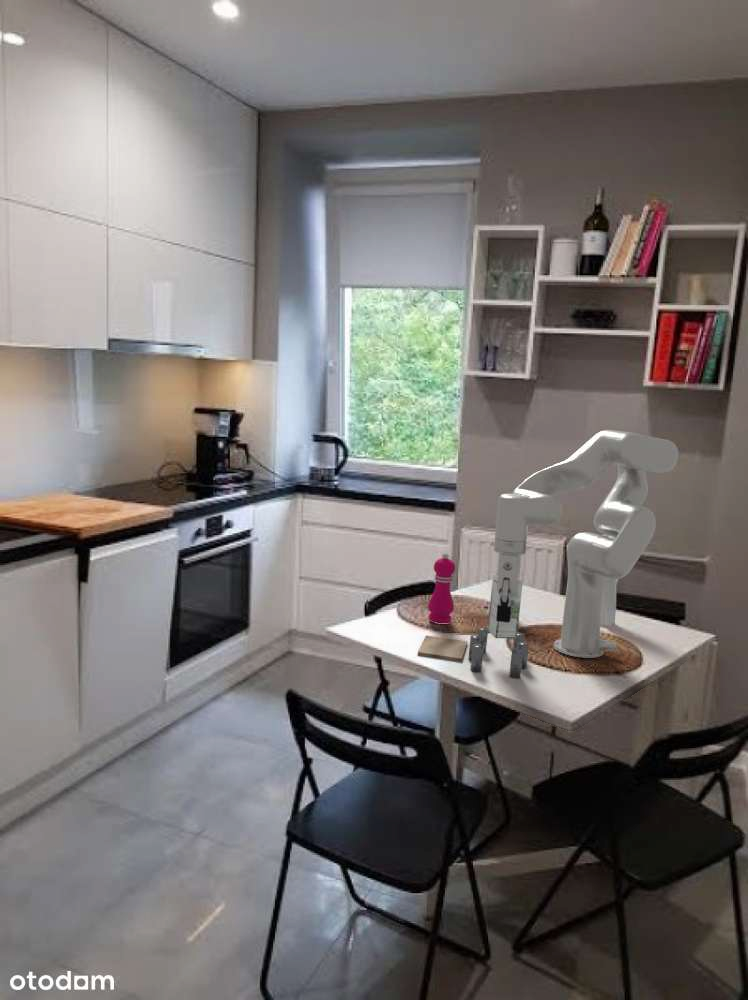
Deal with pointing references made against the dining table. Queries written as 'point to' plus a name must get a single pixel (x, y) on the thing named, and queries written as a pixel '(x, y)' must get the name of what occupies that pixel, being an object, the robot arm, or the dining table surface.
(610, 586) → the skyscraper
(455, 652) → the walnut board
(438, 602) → the pepper mill
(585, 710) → the dining table surface
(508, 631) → the syrup box
